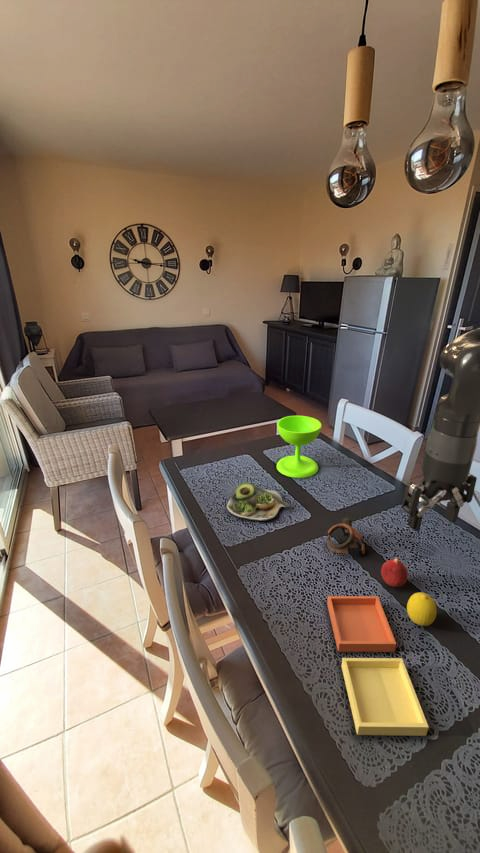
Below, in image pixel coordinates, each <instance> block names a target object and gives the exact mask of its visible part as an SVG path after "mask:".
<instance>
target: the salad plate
mask: <svg viewBox="0 0 480 853" xmlns="http://www.w3.org/2000/svg"><path fill="white" fill-rule="evenodd" d="M289 507H290V503H288V502H287V501H284V500H283V498H282V496H281V494H280V493H279V492H277V491H276V490H271V489H266V488H261V487H258V486H257V485H256V484H253V483H250V482H243V483H241V484H239V485H238V486H236V488H235V490H234V491H233V494H232V495H231V497H230V499H229V500H228V502H227V504H226V505H225V509H226V511H227V513H229V514H230V515H231V516H232V517H235V518H237V519H243V520H246V521H247V520H248V521H258V522H259V521H260V522H265V521H270V520H272V519H275V517H276V516H277V515H278V513H279V511H280V510H281V509H282V508H289Z"/></svg>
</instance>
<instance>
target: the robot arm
mask: <svg viewBox="0 0 480 853" xmlns="http://www.w3.org/2000/svg"><path fill="white" fill-rule="evenodd" d="M439 366H440V368H441V370H442V371H443V372H444V373H445V374H446V375H447V376H449V377H450V378H452V383H451V387H450V389H449V391H448V393H446V394H443V395H442V396H441V397H439V399H438V401H437V404H436V407H435V410H434V416H433V420H432V424H431V429H430V431H429V433H428V437H427V441H426V447H425V451H424V456H423V461H422V465H421V470H422V474H423V478H422V480H421V481H420V483H414V482H412V481H408V482H407V484H406V487H405V491H404V495H403V498H402V503H401V506H400V507H401V509H402V510H403V511H404V512H405V513H407V514H408V520H407V525H408V526H409V528H411V530H413V531H414V532H420V531H421V526H422V521H423V517H424V516H423V515H424V514H425V513H426V512H427V511H428V510H431V509H433V507H434V506H435V505H437V503H440V502H446V503H447V504H446V507H445V511H444V514H443V515H444V518H445V520H447V521H448V522H450V523H456V521H457V518H458V517H459V513H460V509H461V508H462V507H463V506H464V505H465V503H467V504H470V503H471V502H472V501H473V496H474V493H475V488H476V484H477V480H478V478H477V477H476V476H475V475H473V474H472V473H471V468H472V464H473V462H474V457H475V454H476V450H477V446H478V435H479V433H480V432H479V431H480V327H478V328H475V329H473V330H470V331H468V332H466V333H463V334H461V335H459V336H457V337H456V338H454V339H452V340H451V341H450V342H449V343H447V344H446V346H445V347H444V348H442V351H441V352H440V356H439ZM465 492H466V493H465ZM424 496H425V497H426V499H428V501H426V500H425V499H424V498H423V497H424ZM420 504H421V506H420V507H419V505H420ZM418 507H419V508H418Z"/></svg>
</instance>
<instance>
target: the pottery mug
mask: <svg viewBox="0 0 480 853" xmlns="http://www.w3.org/2000/svg"><path fill="white" fill-rule="evenodd" d="M338 529H340V530H341V532H342V534H343V537H347V540H346V541H345V542H344V543H340V544H336V543H333V542H332V540H331V536H332V534H333V532H335V531H336V530H338ZM358 544H360V545H361V553H362V555H365V554H366V548H365V542H364V538H363V536H362V534H361V533H360V532H359V531H358V530H357V529H356V528H355V527H353V522H352V519H351V518H350V517H344V518H343V519H342V521H341V523H337V524H335V525H332V526H331V527H330V528H329V530H327V537H326V547H327V548H328V549H329V550H330V551H331V552H332V553H333V554H345V555H347V556H348V555H349V548H350V549H358V548H359V545H358Z"/></svg>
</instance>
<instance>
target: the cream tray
mask: <svg viewBox="0 0 480 853" xmlns="http://www.w3.org/2000/svg"><path fill="white" fill-rule="evenodd" d="M341 659H342V660H341V670H342V675H343V679H344V684H345V688H346V693H347V696H348V700H349V706H350V710H351V714H352V718H353V722H354V728H355V732H356V734H357V736H403V737H404V736H405V737H406V736H411V737H412V736H413V737H414V736H415V737H416V736H417V737H426V736H427V734H428V731H429V729H430V727H429V724H428V721H427V718H426V716H425V714H424V711H423V709H422V706H421V703H420V700H419V699H418V696H417V693H416V690H415V688H414V685H413V682H412V680H411V677H410V675H409V673H408V670H407V667H406V665H405V662H404V660H403V658H402V657H399V658H398V657H388V658H387V657H342V658H341Z"/></svg>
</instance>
